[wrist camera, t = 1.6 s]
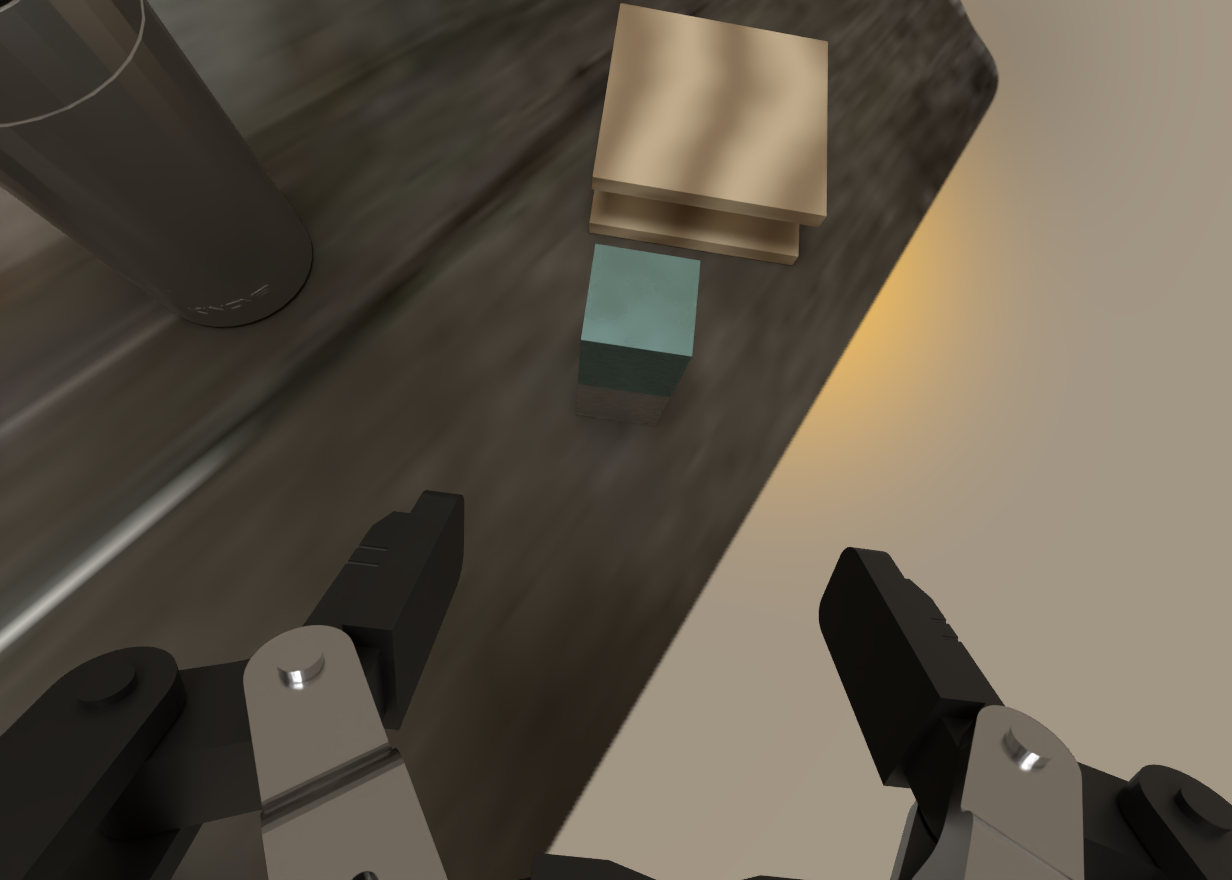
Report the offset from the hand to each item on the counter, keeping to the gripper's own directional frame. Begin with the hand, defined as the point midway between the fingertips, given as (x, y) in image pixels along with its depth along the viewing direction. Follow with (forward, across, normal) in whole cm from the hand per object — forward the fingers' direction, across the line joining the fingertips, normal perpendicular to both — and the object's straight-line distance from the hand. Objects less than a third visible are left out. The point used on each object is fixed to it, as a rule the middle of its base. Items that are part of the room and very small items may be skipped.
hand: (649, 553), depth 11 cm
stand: (+34, -4, -7) cm, 35 cm away
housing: (+22, 0, +5) cm, 23 cm away
